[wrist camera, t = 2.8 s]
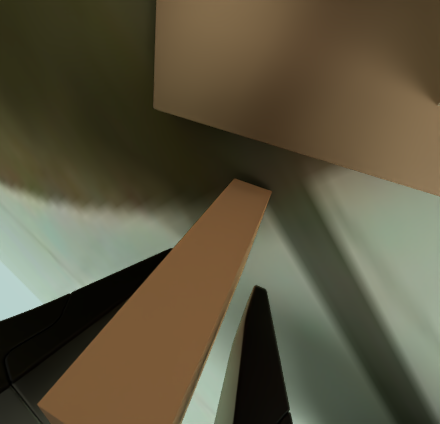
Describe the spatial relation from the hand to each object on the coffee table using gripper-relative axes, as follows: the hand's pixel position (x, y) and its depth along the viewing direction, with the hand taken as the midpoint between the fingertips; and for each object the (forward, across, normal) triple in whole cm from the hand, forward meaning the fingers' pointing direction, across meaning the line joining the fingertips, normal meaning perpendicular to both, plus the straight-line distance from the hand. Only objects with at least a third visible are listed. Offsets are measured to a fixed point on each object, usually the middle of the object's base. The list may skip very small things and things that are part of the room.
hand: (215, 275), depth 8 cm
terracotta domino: (+3, 0, 0) cm, 3 cm away
